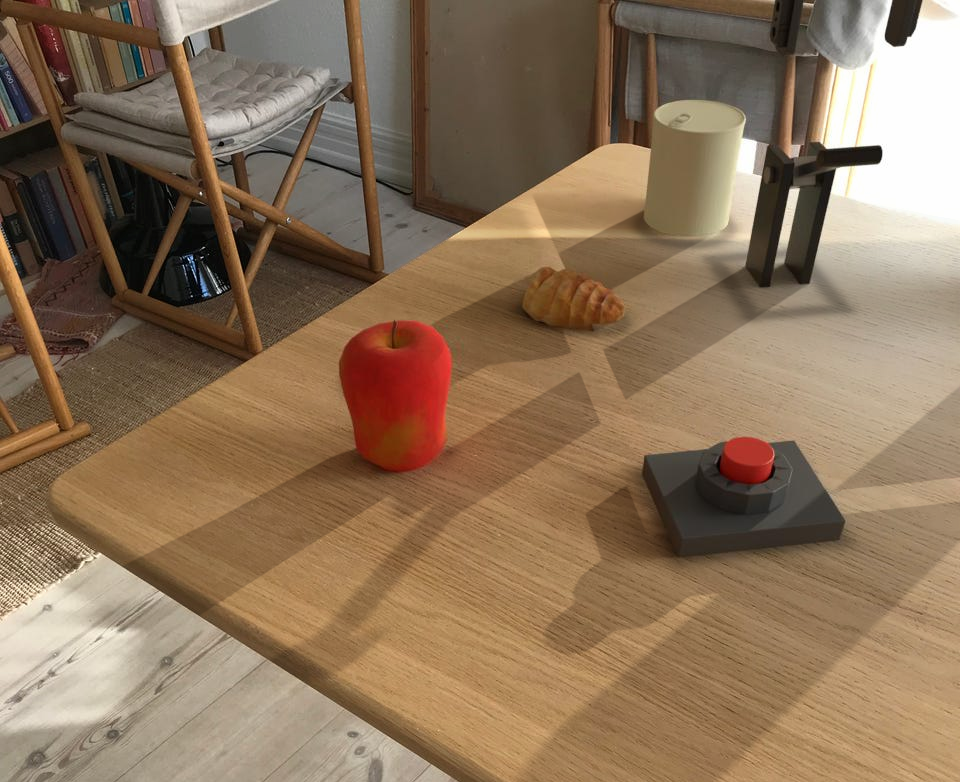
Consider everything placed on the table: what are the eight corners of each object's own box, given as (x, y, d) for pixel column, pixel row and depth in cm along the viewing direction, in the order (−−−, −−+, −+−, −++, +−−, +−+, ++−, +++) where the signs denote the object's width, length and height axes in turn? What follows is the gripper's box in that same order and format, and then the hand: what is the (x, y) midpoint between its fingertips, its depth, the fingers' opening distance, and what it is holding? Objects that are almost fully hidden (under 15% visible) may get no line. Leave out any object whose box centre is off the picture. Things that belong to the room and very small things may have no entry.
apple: (395, 414, 87) (385, 281, 79) (476, 447, 84) (475, 312, 75) (327, 464, 82) (308, 327, 74) (410, 501, 79) (400, 363, 70)
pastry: (635, 313, 99) (639, 275, 96) (605, 346, 95) (608, 307, 92) (547, 291, 102) (549, 253, 99) (514, 321, 98) (515, 283, 95)
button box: (789, 463, 82) (799, 419, 79) (838, 544, 75) (852, 500, 72) (641, 478, 81) (646, 435, 78) (677, 562, 74) (685, 518, 71)
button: (760, 454, 77) (764, 434, 75) (777, 483, 74) (781, 463, 73) (712, 458, 76) (716, 438, 75) (728, 488, 74) (732, 468, 73)
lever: (882, 169, 85) (883, 137, 84) (823, 173, 84) (824, 141, 84) (817, 187, 96) (817, 158, 96) (765, 191, 96) (765, 162, 95)
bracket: (842, 312, 98) (877, 175, 89) (750, 321, 98) (777, 182, 88) (796, 256, 107) (824, 124, 98) (711, 262, 106) (732, 131, 97)
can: (623, 228, 112) (634, 110, 103) (678, 203, 116) (693, 87, 107) (690, 257, 107) (707, 135, 98) (745, 229, 111) (766, 110, 103)
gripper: (811, -223, 62) (764, 73, 74) (1035, -236, 63) (954, 56, 75) (766, -239, 67) (730, 40, 79) (974, -251, 68) (908, 25, 80)
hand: (839, 48), depth 77 cm, fingers open, 8 cm apart
